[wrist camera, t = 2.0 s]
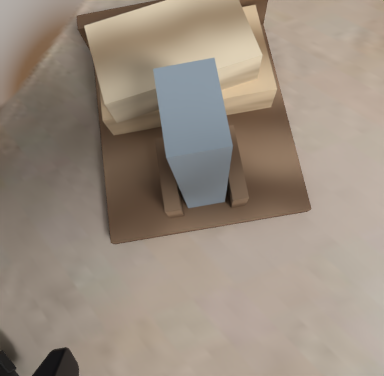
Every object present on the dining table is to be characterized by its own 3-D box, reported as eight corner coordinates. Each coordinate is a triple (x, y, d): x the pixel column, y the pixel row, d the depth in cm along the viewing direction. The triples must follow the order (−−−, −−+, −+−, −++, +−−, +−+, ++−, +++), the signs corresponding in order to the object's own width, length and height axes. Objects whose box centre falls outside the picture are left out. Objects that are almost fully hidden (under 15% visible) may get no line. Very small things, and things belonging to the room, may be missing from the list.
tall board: (224, 202, 23) (232, 146, 12) (188, 208, 23) (166, 157, 12) (214, 149, 24) (214, 57, 13) (179, 155, 24) (152, 68, 13)
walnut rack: (307, 211, 23) (326, 199, 19) (115, 244, 23) (95, 239, 19) (258, 21, 27) (265, -21, 23) (96, 51, 28) (76, 15, 24)
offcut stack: (272, 111, 24) (286, 71, 19) (114, 139, 24) (89, 107, 19) (251, 29, 26) (260, -26, 21) (105, 56, 26) (80, 8, 21)
